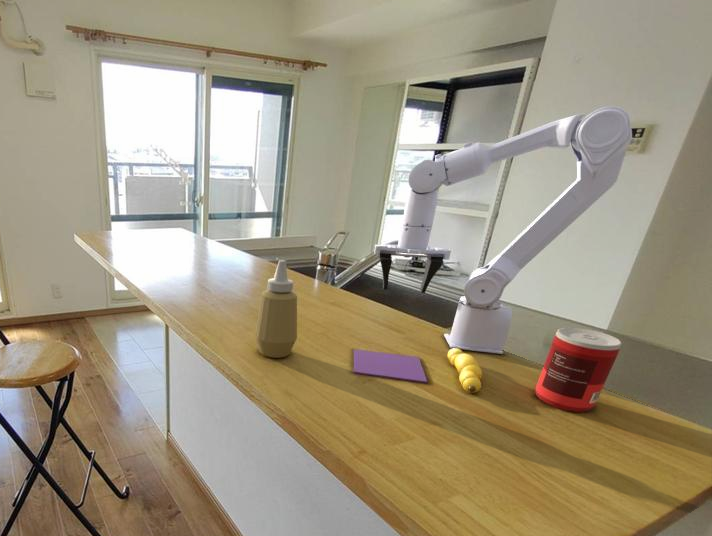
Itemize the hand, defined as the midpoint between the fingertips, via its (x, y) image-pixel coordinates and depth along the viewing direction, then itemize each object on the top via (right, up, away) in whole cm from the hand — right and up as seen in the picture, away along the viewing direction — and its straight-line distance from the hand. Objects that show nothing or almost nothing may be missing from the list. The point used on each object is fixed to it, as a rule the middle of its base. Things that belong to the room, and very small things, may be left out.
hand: (403, 290), depth 93 cm
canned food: (+14, -22, -25) cm, 36 cm away
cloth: (-9, -16, -14) cm, 23 cm away
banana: (+3, -18, -17) cm, 25 cm away
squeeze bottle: (-30, -14, -9) cm, 34 cm away
